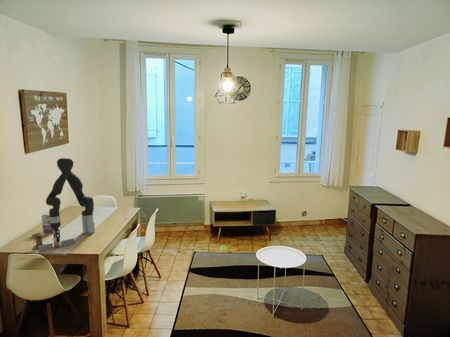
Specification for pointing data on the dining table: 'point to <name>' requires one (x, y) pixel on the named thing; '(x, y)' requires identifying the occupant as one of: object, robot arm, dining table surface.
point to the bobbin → (38, 239)
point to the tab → (56, 243)
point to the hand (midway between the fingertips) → (56, 240)
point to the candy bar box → (46, 223)
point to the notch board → (50, 246)
